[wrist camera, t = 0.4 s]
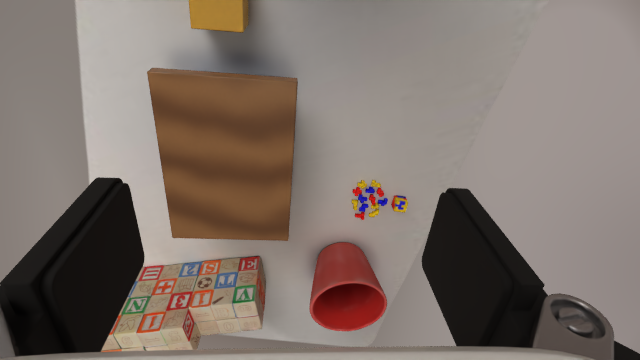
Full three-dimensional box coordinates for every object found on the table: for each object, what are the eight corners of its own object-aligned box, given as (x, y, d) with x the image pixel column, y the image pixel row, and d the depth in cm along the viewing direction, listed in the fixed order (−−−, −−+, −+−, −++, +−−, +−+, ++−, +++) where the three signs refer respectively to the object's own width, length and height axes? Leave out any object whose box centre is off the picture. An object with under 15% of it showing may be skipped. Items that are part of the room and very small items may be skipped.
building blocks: (356, 177, 51) (357, 184, 50) (409, 184, 52) (412, 190, 51) (346, 214, 54) (347, 221, 53) (396, 219, 56) (399, 226, 54)
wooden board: (152, 67, 35) (146, 71, 34) (297, 77, 36) (297, 82, 35) (175, 230, 45) (172, 238, 44) (288, 233, 47) (288, 240, 45)
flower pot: (356, 288, 63) (366, 338, 55) (297, 273, 60) (298, 324, 52) (385, 245, 58) (401, 292, 50) (323, 226, 55) (328, 273, 47)
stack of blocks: (260, 254, 57) (253, 320, 47) (266, 281, 61) (261, 349, 50) (124, 268, 57) (87, 338, 46) (138, 295, 60) (106, 366, 50)
